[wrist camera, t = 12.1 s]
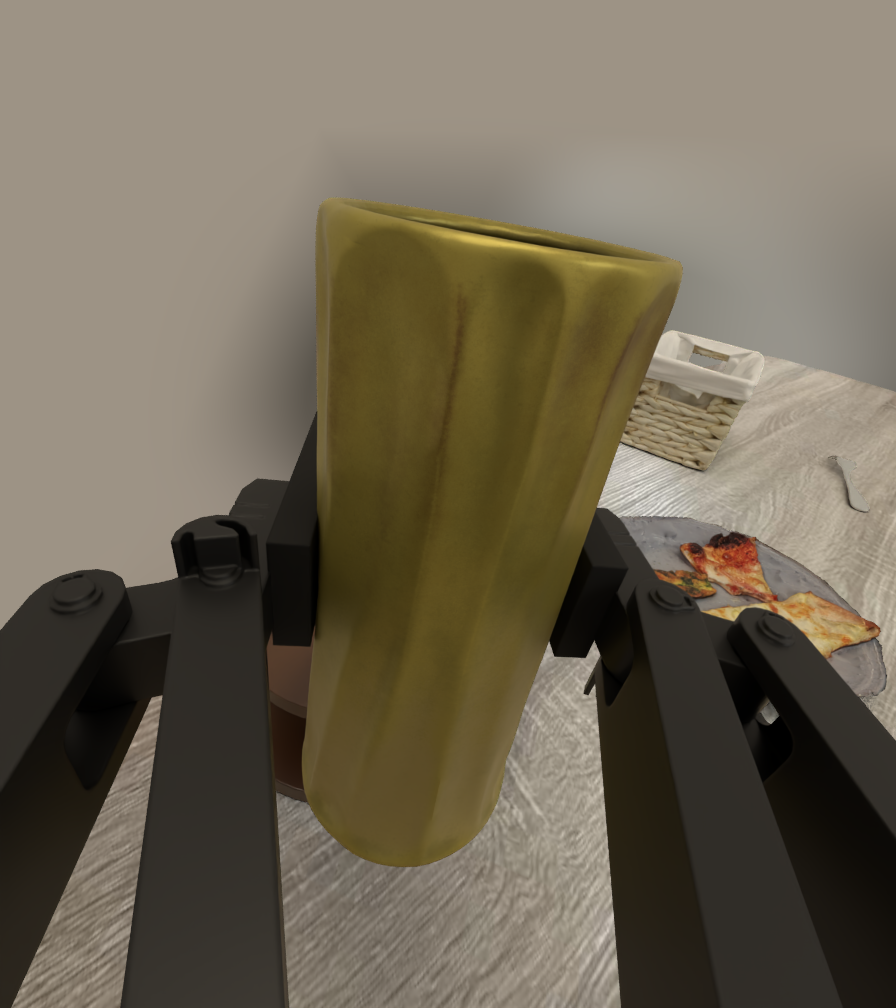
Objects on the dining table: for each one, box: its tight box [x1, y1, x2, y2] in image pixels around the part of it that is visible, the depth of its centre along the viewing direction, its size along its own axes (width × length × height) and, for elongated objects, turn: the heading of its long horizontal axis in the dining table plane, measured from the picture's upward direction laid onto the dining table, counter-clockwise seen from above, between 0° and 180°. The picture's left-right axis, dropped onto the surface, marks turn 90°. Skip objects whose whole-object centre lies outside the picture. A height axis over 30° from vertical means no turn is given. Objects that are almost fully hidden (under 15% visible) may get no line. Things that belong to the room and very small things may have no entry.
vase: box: [302, 198, 683, 867], centre depth 11 cm, size 6×6×14 cm
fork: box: [828, 456, 870, 512], centre depth 76 cm, size 3×21×3 cm, turn 152°
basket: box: [621, 330, 765, 470], centre depth 77 cm, size 24×16×15 cm
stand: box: [267, 627, 315, 802], centre depth 30 cm, size 14×14×7 cm
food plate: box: [619, 516, 887, 697], centre depth 44 cm, size 25×23×4 cm
